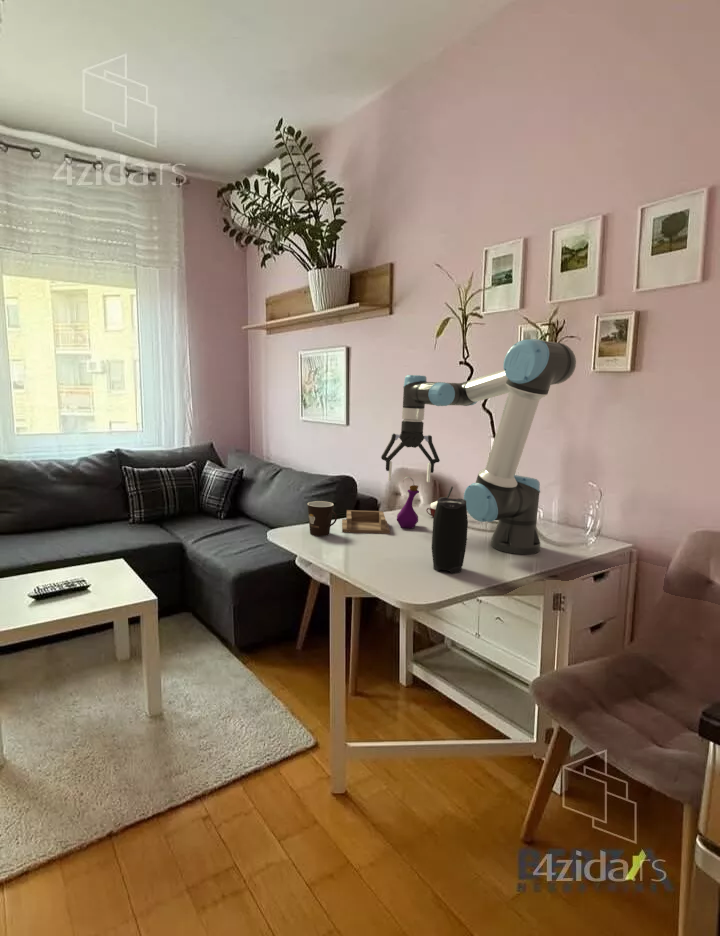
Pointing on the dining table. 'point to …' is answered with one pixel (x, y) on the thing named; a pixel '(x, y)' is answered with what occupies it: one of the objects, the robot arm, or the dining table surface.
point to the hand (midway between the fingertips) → (408, 481)
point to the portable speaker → (449, 534)
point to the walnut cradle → (365, 522)
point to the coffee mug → (320, 517)
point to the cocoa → (434, 504)
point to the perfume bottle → (408, 509)
